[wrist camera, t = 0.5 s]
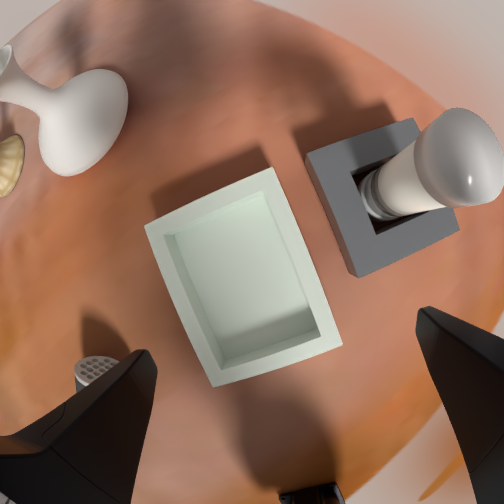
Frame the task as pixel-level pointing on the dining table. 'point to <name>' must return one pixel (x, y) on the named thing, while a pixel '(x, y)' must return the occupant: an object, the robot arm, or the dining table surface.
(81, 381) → the flashlight
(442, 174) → the frosted bulb
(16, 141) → the hand bell
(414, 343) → the dining table surface
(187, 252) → the parts tray
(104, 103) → the flower in vase
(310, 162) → the socket block
